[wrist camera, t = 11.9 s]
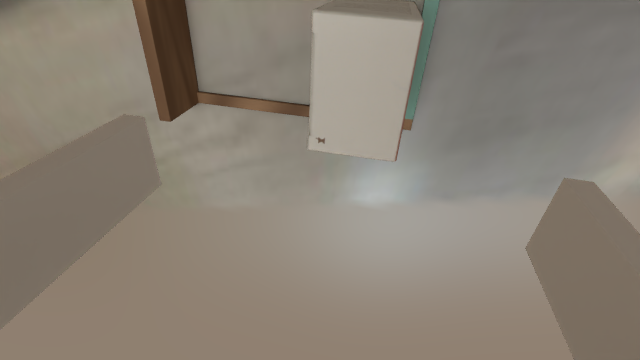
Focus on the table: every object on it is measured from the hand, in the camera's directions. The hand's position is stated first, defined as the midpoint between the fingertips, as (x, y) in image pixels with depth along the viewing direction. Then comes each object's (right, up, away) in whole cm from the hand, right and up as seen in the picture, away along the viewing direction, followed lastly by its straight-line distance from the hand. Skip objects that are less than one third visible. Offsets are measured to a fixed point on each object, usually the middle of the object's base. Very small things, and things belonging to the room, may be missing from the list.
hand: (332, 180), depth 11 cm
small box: (+4, +10, +16) cm, 19 cm away
